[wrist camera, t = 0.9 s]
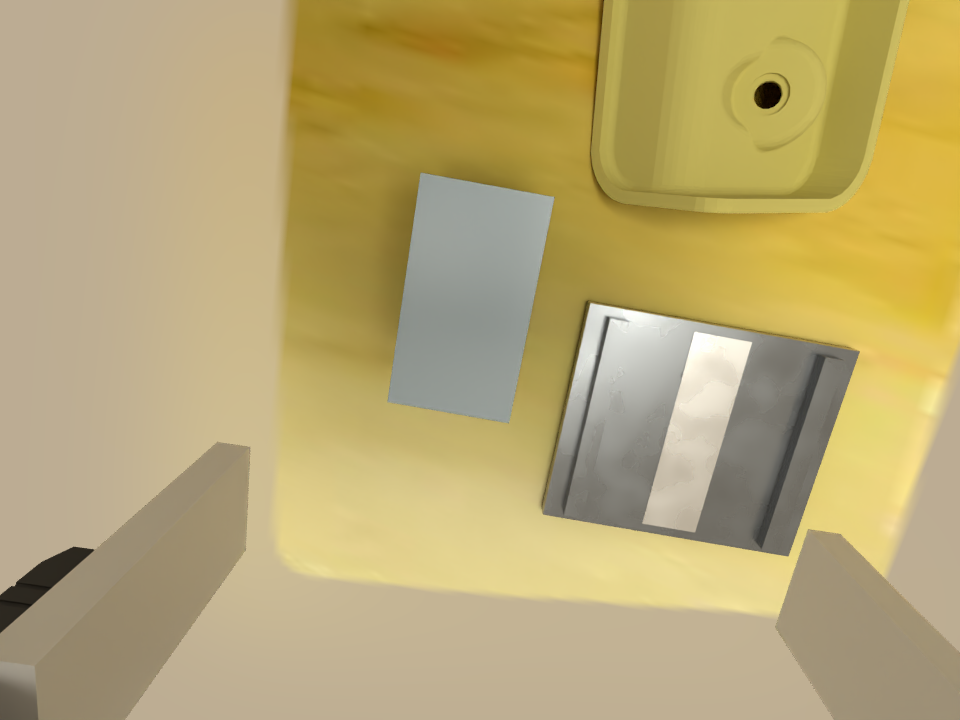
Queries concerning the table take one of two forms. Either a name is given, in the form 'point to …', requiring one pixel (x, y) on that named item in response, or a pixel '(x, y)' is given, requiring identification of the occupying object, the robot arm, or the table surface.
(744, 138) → the plastic component
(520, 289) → the block
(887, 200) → the table surface
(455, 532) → the table surface
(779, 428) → the rail mount
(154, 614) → the robot arm
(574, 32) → the table surface
